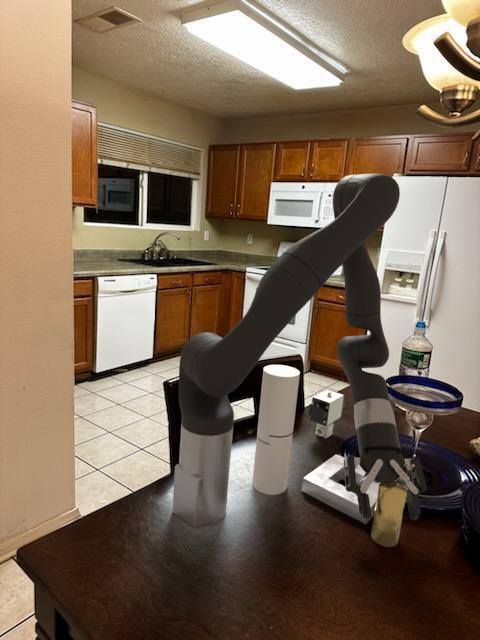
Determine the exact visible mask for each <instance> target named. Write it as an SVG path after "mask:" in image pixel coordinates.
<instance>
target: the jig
mask: <svg viewBox="0 0 480 640" xmlns="http://www.w3.org/2000/svg"><path fill="white" fill-rule="evenodd" d="M345 458H346V457H344V456H342V455H340V454H334V455H333V456H332V457H330V458H329V459H327V460H326V461H324V462H323V463H322V464H320V465H319V466H318V467H316V468H315V469H313V470H312V471H311V472H310V473H307V475H305V476H304V477H303V478H302V486H301V492H303V493H305V494H306V495H309V496H311V497H312V498H314V499H317V500H318V501H319V502H322V503H324V504H326V505H328V506H329V507H331V508H333V509H335V510H337V511H340V512H341V513H343V514H346V515H347V516H349V517H351V518H352V519H355V520H356V521H359V522H360V523H363V524H364V525H367V524H368V522H369V521H371V519H372V518H374V513H375V507H376V501H377V495H378V489H379V483H375V482H374V481H373V482H372V483H371V485H370V486H369V488H368V490H367V492H366V494H368V495H369V502H370V508H371V517H370V518H363V515H361V514H360V512H359V505H358V498H357V495H356V494H355V493H353V492H348V491H347V490H346V487H345V486H344V485H343V484H341V483H339V482H340V481H341V480H342V481H344V482H345V473H344V459H345ZM355 473H356V484H357V485H359V484H360V481H361V480H362V478H363V476H364V474H365V471H364V470H363V469H362V468H361V467H360V465H359V464H358V467H357V468H356V469H355Z"/></svg>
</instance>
